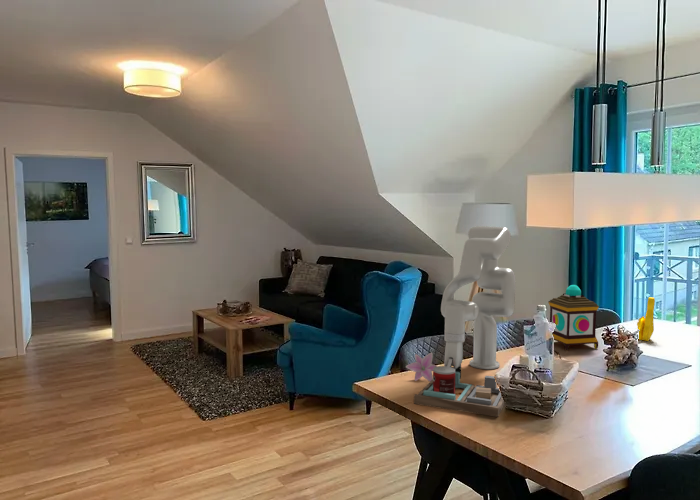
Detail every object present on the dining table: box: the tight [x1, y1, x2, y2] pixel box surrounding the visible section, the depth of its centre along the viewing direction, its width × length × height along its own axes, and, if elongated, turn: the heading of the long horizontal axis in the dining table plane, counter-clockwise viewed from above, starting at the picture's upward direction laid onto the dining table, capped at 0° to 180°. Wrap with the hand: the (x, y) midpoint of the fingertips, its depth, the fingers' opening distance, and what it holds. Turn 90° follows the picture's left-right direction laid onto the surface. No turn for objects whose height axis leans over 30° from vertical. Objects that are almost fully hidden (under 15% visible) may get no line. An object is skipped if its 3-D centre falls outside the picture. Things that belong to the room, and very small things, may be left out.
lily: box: [405, 352, 438, 383], centre depth 224 cm, size 12×12×10 cm
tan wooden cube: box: [475, 386, 492, 400], centre depth 196 cm, size 5×5×5 cm
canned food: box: [432, 365, 456, 394], centre depth 200 cm, size 8×8×11 cm
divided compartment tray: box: [413, 380, 505, 418], centre depth 200 cm, size 22×29×3 cm
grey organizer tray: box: [465, 375, 502, 406], centre depth 199 cm, size 22×10×6 cm, turn 155°
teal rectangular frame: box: [423, 372, 473, 401], centre depth 205 cm, size 22×13×6 cm, turn 155°
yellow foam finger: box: [636, 296, 656, 342], centre depth 284 cm, size 18×8×22 cm, turn 142°
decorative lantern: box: [548, 284, 600, 352], centre depth 273 cm, size 20×20×30 cm
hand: (453, 381), depth 214 cm, fingers open, 8 cm apart
